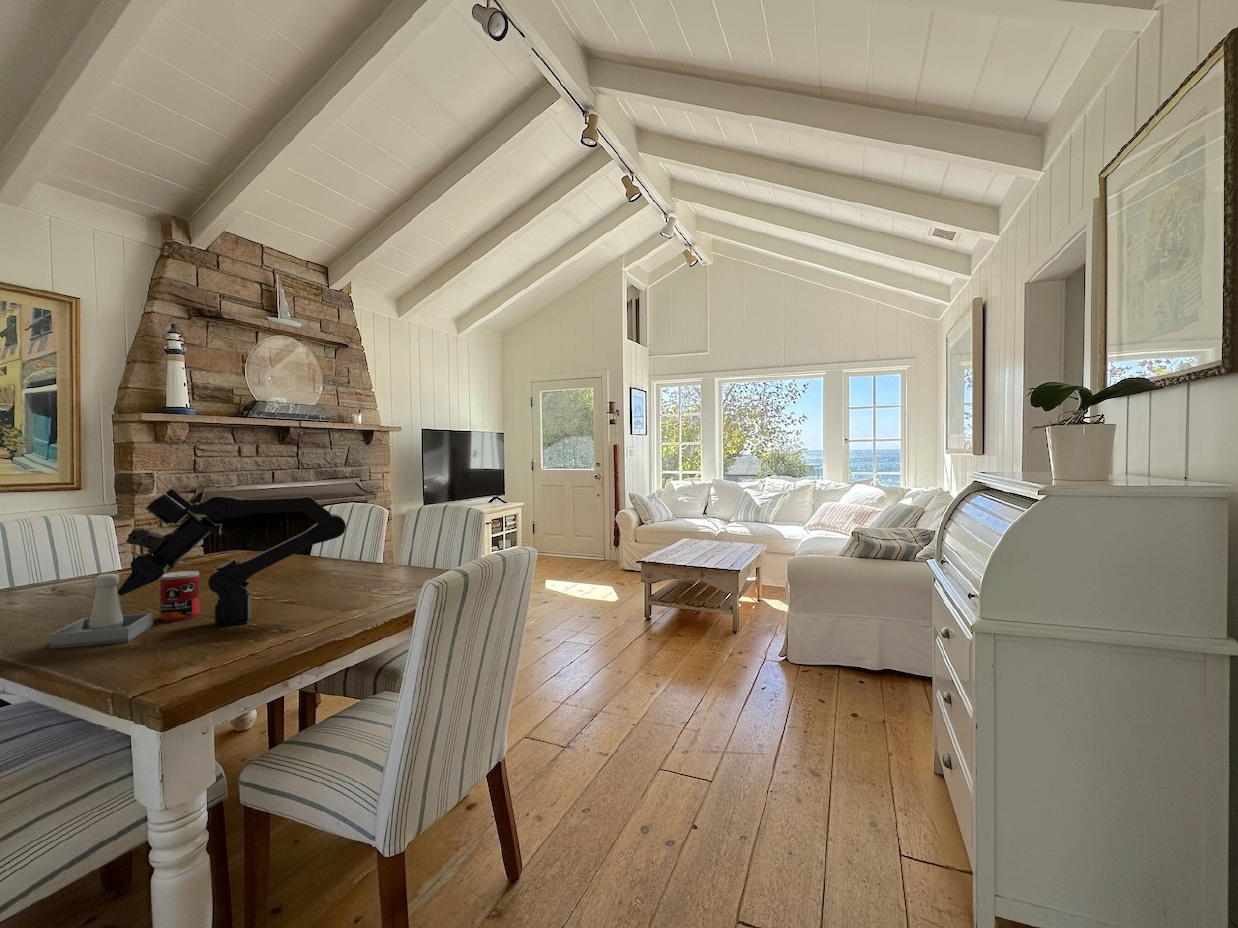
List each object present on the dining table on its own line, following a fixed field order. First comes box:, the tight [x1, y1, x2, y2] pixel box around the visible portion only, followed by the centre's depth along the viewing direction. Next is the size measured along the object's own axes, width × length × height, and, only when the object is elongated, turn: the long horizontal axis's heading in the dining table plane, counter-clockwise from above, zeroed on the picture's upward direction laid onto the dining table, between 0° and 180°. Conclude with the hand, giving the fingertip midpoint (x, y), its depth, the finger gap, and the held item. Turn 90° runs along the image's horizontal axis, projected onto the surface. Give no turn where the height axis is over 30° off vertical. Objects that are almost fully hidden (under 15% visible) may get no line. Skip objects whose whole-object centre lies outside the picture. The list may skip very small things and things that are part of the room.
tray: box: [49, 612, 154, 650], centre depth 126 cm, size 13×13×3 cm
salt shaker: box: [89, 573, 124, 630], centre depth 126 cm, size 6×6×13 cm
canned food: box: [159, 570, 200, 622], centre depth 142 cm, size 8×8×11 cm
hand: (125, 589), depth 128 cm, fingers open, 9 cm apart
